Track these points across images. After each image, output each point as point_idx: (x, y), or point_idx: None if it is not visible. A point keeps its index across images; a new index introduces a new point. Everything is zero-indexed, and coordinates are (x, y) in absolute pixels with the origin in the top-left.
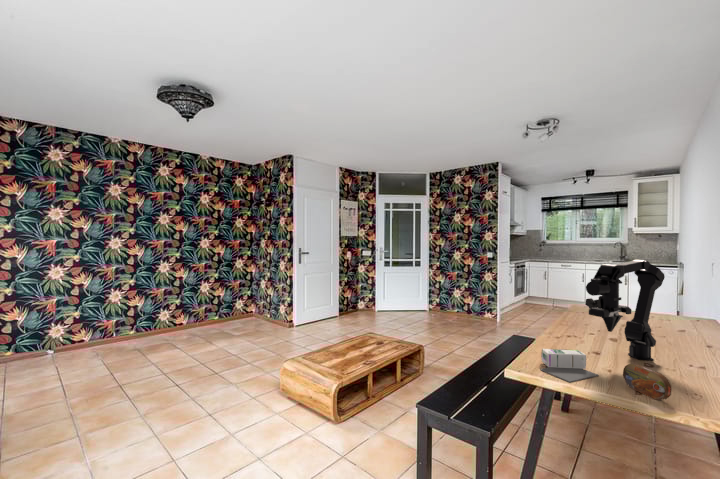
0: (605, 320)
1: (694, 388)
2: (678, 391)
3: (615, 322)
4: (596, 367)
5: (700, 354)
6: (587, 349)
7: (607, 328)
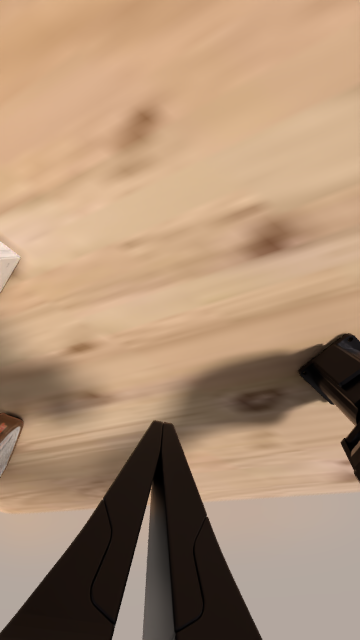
0: (56, 591)
1: None
2: (95, 473)
3: (144, 626)
4: (70, 311)
5: None
6: (305, 182)
7: (139, 443)
